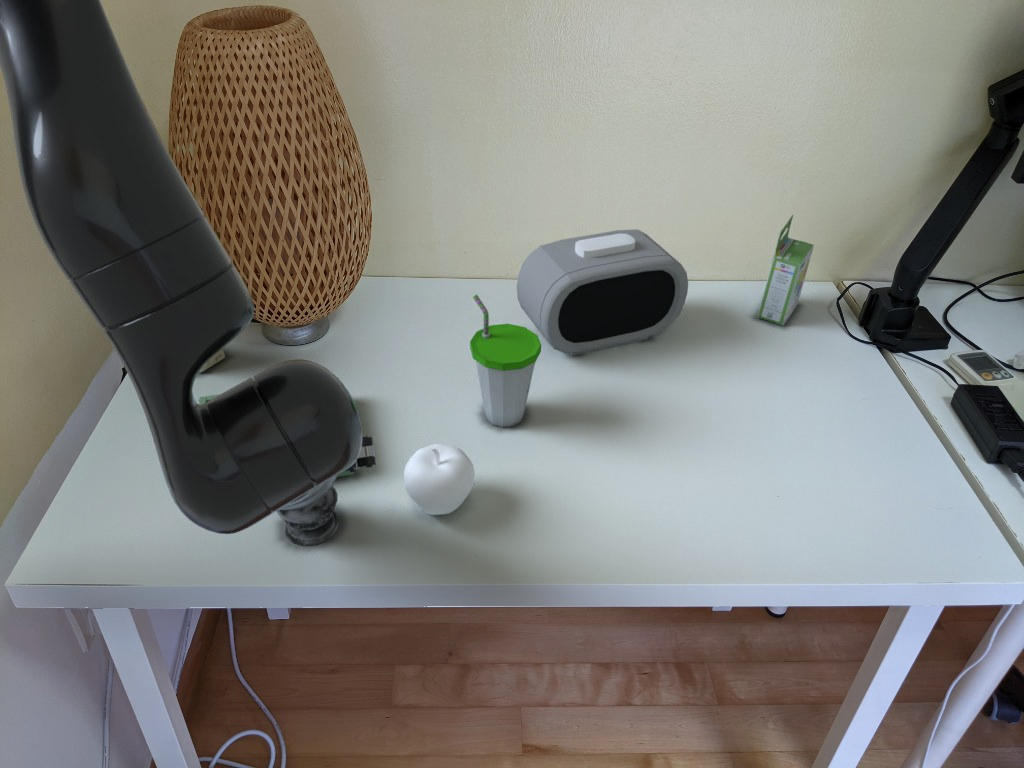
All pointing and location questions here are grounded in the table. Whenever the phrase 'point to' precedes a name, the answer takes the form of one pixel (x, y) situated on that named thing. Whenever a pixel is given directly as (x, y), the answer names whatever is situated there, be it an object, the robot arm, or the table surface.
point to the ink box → (785, 278)
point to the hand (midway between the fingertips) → (301, 467)
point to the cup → (504, 368)
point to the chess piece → (312, 521)
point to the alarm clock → (601, 290)
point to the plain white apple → (439, 478)
